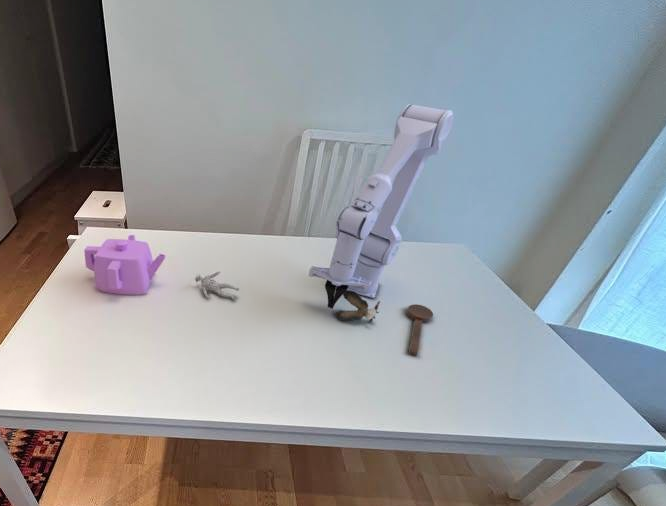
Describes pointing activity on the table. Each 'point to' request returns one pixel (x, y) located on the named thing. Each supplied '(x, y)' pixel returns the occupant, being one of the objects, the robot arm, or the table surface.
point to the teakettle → (122, 265)
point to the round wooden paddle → (417, 324)
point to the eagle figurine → (358, 303)
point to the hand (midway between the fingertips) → (331, 306)
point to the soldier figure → (214, 285)
